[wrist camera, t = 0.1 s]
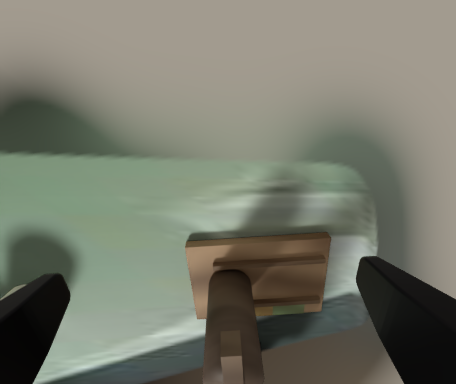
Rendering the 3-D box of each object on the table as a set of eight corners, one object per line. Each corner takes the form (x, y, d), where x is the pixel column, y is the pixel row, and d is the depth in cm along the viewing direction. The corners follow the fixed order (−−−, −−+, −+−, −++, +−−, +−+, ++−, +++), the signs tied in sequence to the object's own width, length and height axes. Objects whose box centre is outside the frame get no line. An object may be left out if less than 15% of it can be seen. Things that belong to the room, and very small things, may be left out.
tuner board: (317, 303, 29) (322, 316, 27) (198, 311, 29) (196, 324, 27) (326, 232, 24) (333, 241, 23) (186, 241, 25) (184, 251, 23)
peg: (252, 319, 28) (264, 419, 20) (213, 321, 28) (209, 423, 20) (250, 261, 24) (264, 354, 16) (205, 264, 24) (197, 358, 16)
